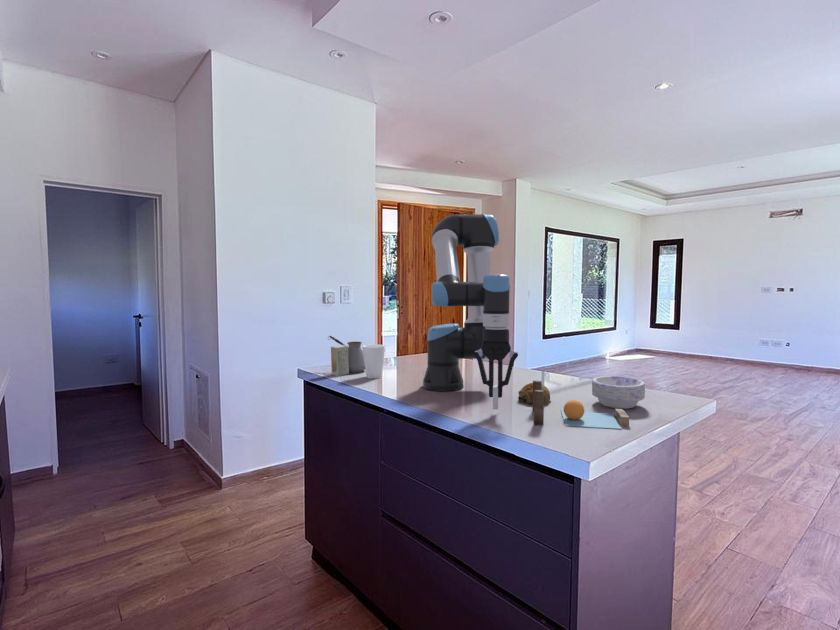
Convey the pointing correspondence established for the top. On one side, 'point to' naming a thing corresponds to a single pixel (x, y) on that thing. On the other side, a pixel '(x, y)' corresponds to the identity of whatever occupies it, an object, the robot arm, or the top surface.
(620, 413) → the wall
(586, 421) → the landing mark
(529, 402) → the bread roll
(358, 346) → the coffee pot
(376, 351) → the foam cup
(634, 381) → the grey stone bowl
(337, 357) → the skincare box
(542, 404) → the post
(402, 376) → the top surface
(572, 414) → the ball
